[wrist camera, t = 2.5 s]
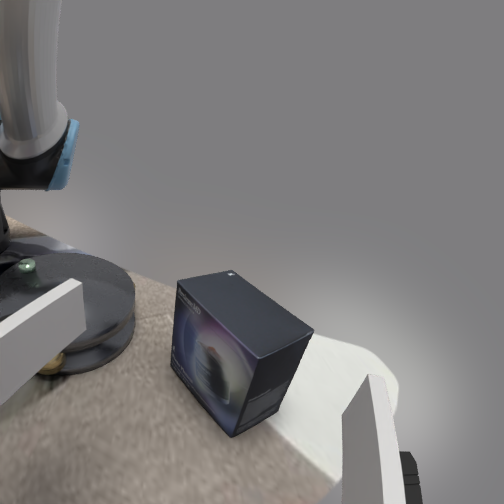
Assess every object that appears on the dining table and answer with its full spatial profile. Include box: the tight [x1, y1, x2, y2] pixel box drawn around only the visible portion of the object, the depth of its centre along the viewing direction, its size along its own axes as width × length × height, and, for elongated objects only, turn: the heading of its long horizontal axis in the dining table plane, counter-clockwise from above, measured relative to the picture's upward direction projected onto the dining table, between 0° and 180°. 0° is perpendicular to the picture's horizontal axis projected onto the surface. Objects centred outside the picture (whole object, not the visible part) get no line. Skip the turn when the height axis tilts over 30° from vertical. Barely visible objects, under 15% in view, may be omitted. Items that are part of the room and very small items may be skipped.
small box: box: [170, 270, 314, 438], centre depth 24 cm, size 11×6×10 cm, turn 42°
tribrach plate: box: [0, 253, 135, 375], centre depth 27 cm, size 19×18×5 cm
